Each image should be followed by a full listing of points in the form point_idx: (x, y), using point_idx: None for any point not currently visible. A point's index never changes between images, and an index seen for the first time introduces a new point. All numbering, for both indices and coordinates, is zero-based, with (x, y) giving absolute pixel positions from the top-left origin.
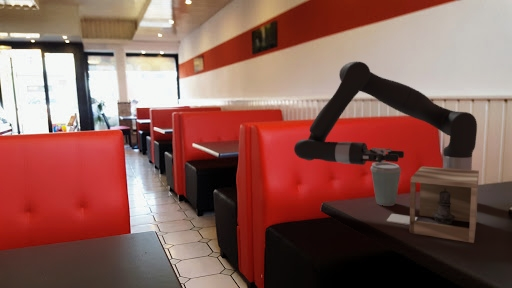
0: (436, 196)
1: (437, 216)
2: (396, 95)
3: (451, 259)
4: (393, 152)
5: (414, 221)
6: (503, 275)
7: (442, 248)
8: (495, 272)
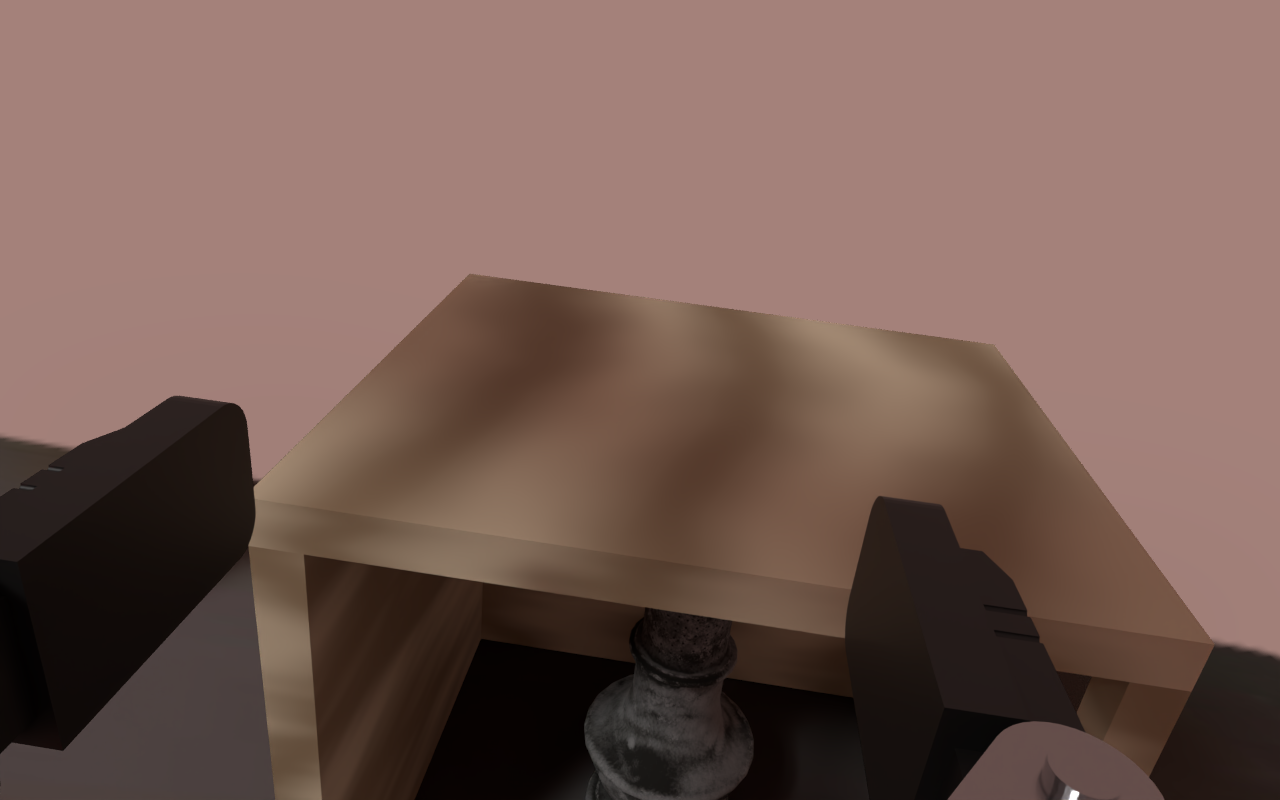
0: (394, 679)
1: (732, 775)
2: None
3: None
4: (65, 580)
5: None
6: (1228, 652)
7: None
8: (1226, 670)
